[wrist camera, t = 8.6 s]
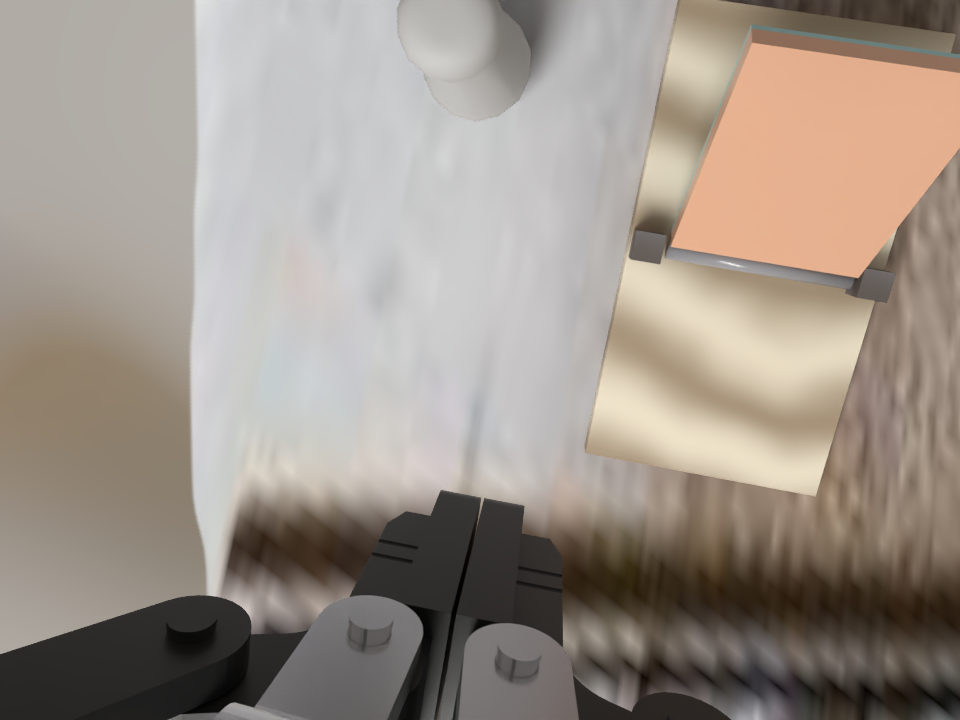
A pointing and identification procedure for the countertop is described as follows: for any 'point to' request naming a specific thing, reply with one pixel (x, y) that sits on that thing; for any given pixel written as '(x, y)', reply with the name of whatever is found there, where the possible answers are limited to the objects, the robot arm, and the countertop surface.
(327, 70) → the countertop surface
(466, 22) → the salt shaker
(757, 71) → the tile
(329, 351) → the countertop surface
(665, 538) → the countertop surface
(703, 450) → the board
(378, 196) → the countertop surface
